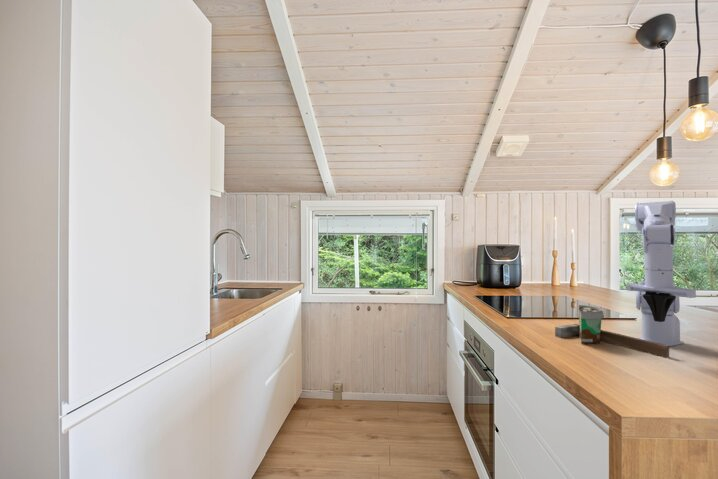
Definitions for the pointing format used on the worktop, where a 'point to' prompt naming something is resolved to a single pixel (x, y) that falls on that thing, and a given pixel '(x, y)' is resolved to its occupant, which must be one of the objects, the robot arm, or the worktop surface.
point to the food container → (590, 324)
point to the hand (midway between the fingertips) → (659, 321)
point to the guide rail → (618, 340)
